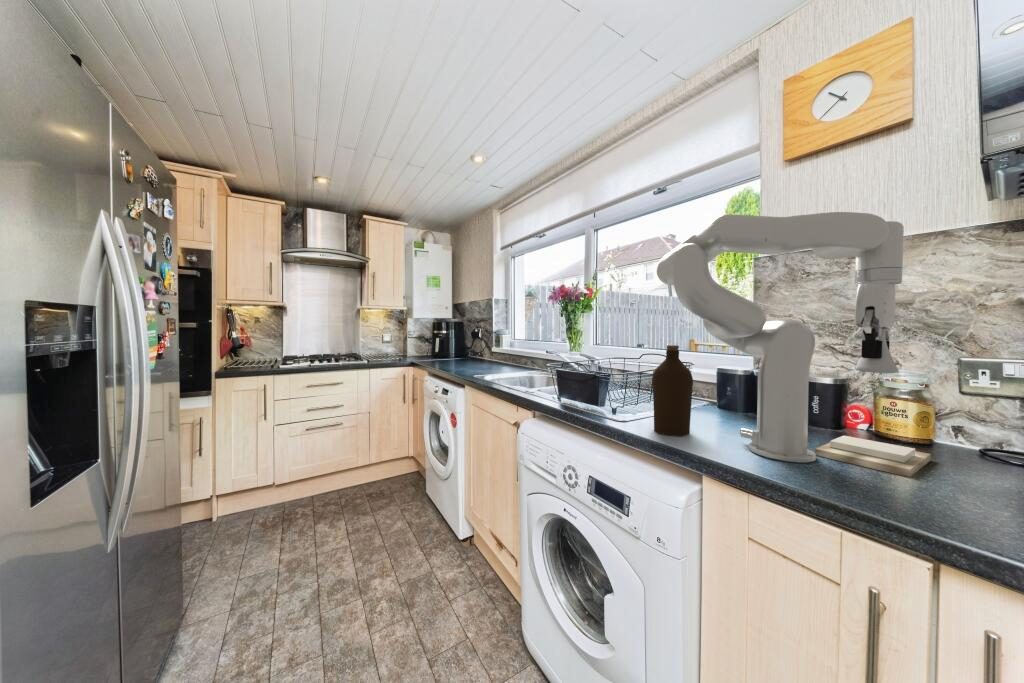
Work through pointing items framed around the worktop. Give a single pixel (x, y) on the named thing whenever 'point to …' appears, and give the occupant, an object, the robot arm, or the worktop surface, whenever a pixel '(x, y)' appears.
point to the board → (876, 460)
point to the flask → (879, 360)
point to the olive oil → (672, 395)
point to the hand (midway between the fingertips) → (875, 357)
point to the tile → (873, 448)
